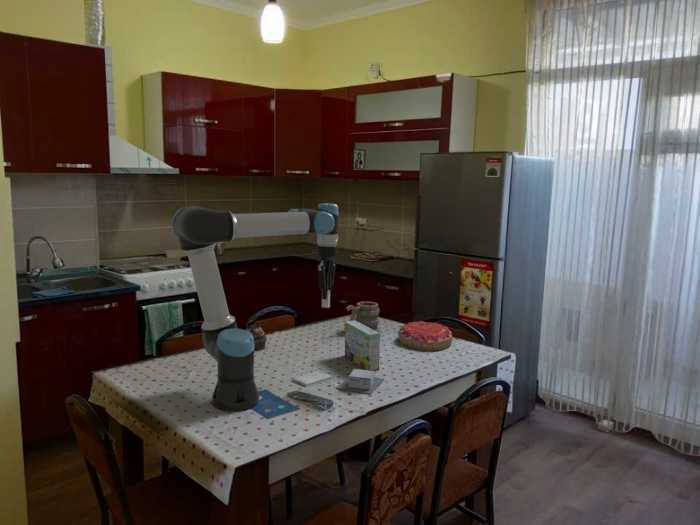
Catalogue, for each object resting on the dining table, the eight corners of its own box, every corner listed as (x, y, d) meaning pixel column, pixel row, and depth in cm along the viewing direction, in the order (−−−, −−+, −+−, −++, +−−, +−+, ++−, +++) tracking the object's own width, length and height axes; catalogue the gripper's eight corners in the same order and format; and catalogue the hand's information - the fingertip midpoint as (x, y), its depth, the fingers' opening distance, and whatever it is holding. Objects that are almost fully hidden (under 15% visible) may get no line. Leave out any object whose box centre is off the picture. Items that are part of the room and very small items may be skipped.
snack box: (343, 355, 235) (344, 321, 233) (355, 354, 238) (356, 319, 236) (367, 371, 217) (369, 334, 215) (380, 369, 219) (381, 332, 217)
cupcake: (262, 352, 237) (262, 329, 235) (241, 350, 238) (240, 327, 237) (269, 345, 246) (269, 323, 245) (248, 344, 248) (248, 322, 246)
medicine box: (353, 379, 207) (347, 388, 198) (353, 368, 206) (348, 376, 198) (374, 382, 205) (369, 390, 196) (374, 370, 204) (370, 378, 196)
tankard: (367, 326, 283) (368, 297, 280) (384, 332, 273) (385, 302, 271) (336, 332, 270) (337, 302, 268) (353, 339, 260) (354, 307, 258)
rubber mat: (370, 394, 194) (370, 393, 194) (336, 388, 198) (336, 387, 198) (384, 379, 208) (384, 378, 208) (351, 374, 213) (351, 373, 213)
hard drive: (317, 370, 213) (291, 377, 205) (332, 375, 208) (306, 383, 199) (317, 374, 214) (291, 382, 205) (331, 380, 208) (306, 388, 199)
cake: (423, 330, 276) (424, 314, 274) (463, 344, 257) (464, 328, 255) (387, 341, 260) (387, 325, 259) (426, 357, 242) (427, 340, 240)
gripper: (329, 247, 200) (327, 311, 203) (343, 244, 212) (341, 304, 215) (310, 246, 203) (309, 309, 206) (325, 242, 215) (324, 302, 218)
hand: (325, 307), depth 211 cm, fingers closed
